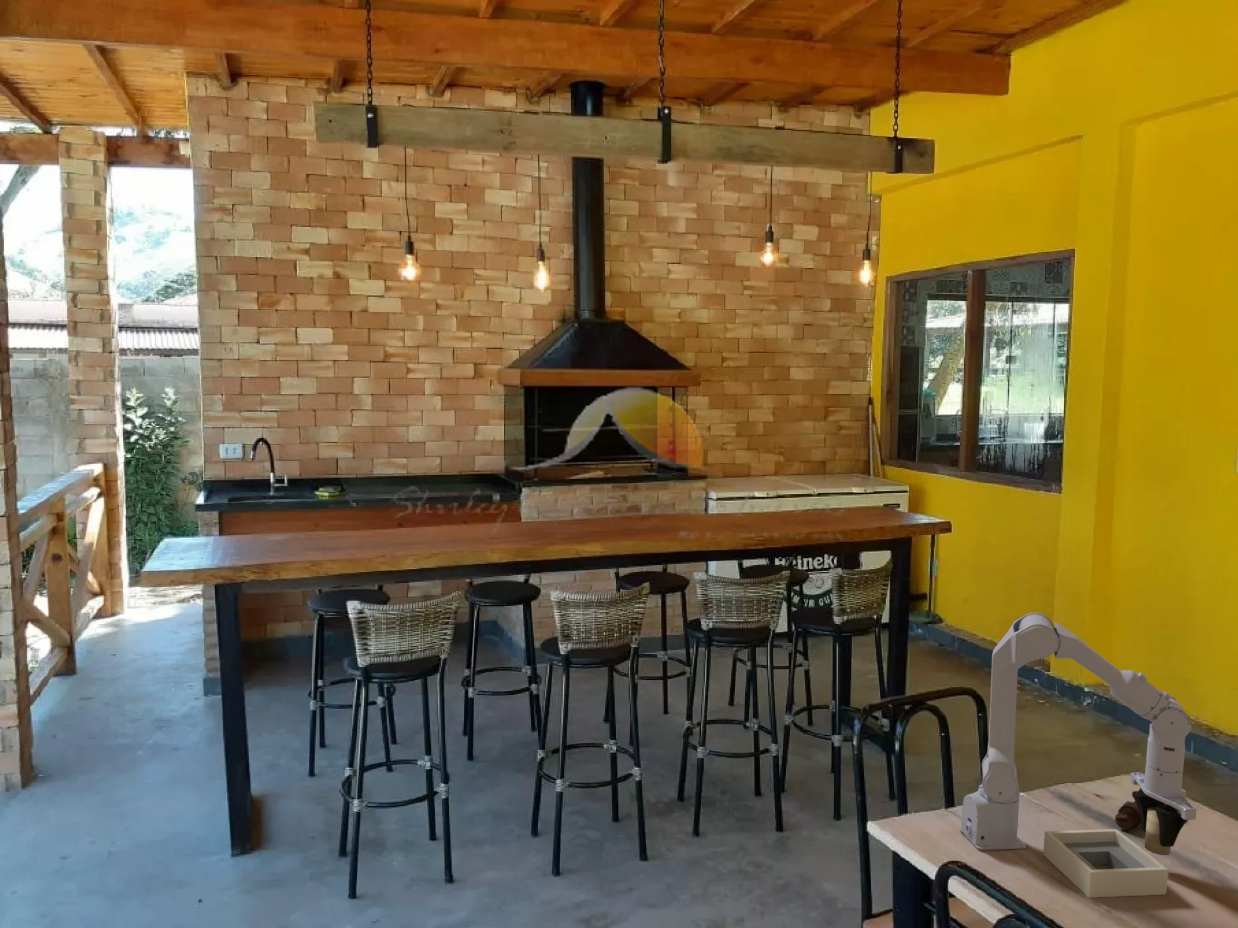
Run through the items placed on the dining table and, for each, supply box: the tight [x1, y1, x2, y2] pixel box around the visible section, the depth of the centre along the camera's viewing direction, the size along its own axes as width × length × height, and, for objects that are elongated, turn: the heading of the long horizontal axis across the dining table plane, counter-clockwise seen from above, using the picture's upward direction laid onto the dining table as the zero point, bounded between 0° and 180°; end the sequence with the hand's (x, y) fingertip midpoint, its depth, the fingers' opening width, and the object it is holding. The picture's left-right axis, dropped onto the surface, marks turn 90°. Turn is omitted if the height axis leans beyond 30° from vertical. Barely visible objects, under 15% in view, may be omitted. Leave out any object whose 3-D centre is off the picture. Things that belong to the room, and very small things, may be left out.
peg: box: [1144, 807, 1172, 856], centre depth 165 cm, size 4×4×7 cm
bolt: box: [1114, 800, 1166, 830], centre depth 184 cm, size 6×5×15 cm
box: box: [1042, 828, 1169, 899], centre depth 163 cm, size 14×14×4 cm
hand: (1158, 839), depth 165 cm, fingers closed on peg, 4 cm apart
